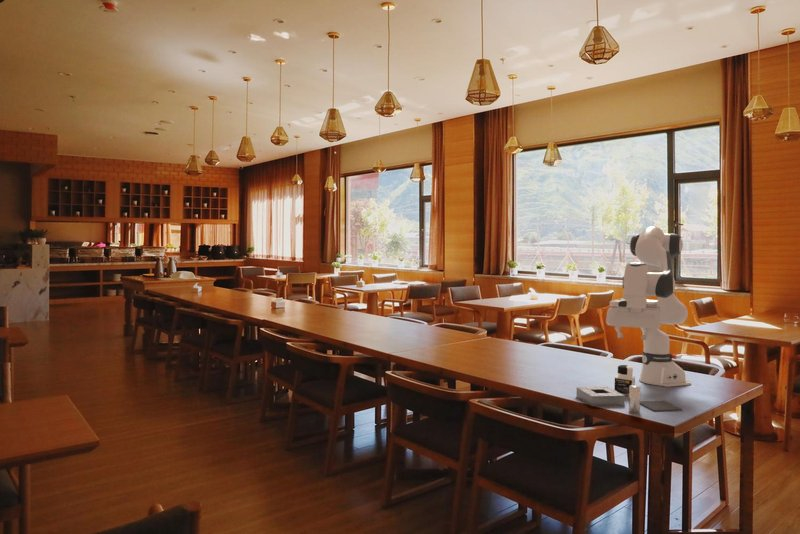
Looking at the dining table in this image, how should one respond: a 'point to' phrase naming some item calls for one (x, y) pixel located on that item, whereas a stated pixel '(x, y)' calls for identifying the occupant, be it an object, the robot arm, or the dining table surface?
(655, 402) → the rubber mat
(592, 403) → the block
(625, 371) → the medicine bottle
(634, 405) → the steel peg
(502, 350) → the dining table surface
